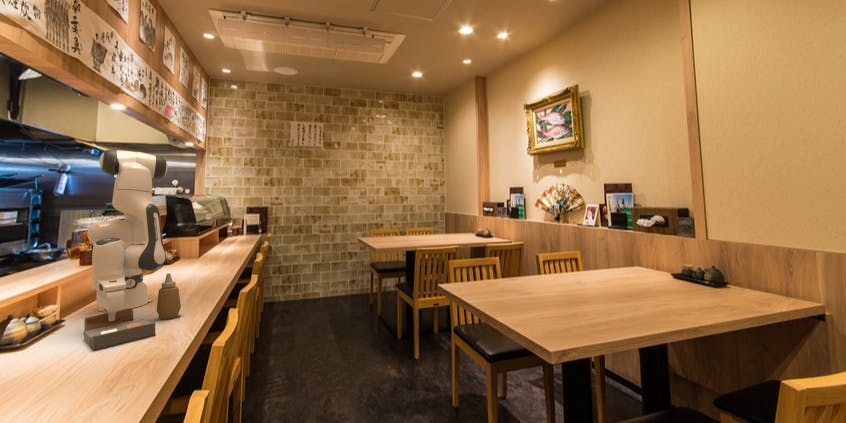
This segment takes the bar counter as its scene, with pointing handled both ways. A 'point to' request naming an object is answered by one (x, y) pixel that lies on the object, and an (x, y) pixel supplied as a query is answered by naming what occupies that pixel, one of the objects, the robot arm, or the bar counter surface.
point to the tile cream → (108, 331)
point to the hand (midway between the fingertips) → (109, 319)
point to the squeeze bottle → (168, 299)
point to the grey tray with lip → (118, 334)
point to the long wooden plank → (102, 319)
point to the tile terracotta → (133, 325)
